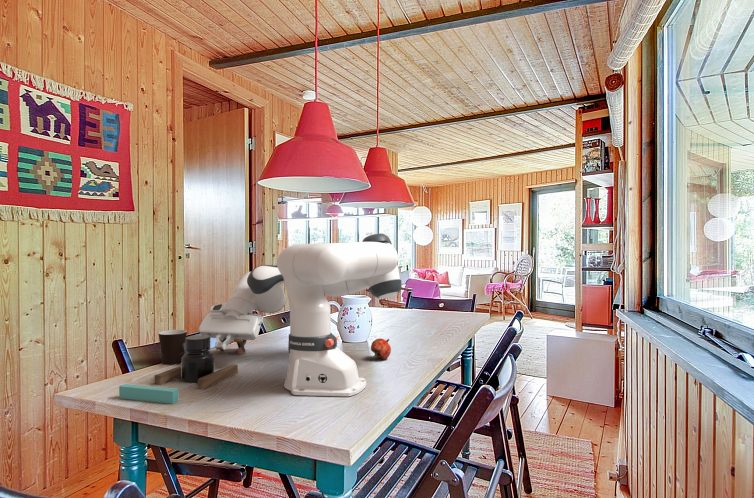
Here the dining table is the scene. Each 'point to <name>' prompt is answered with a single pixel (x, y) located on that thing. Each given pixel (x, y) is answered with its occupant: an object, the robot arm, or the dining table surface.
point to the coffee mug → (172, 346)
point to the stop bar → (148, 393)
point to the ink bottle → (197, 358)
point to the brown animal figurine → (240, 345)
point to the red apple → (380, 348)
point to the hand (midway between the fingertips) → (219, 348)
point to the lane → (203, 381)
